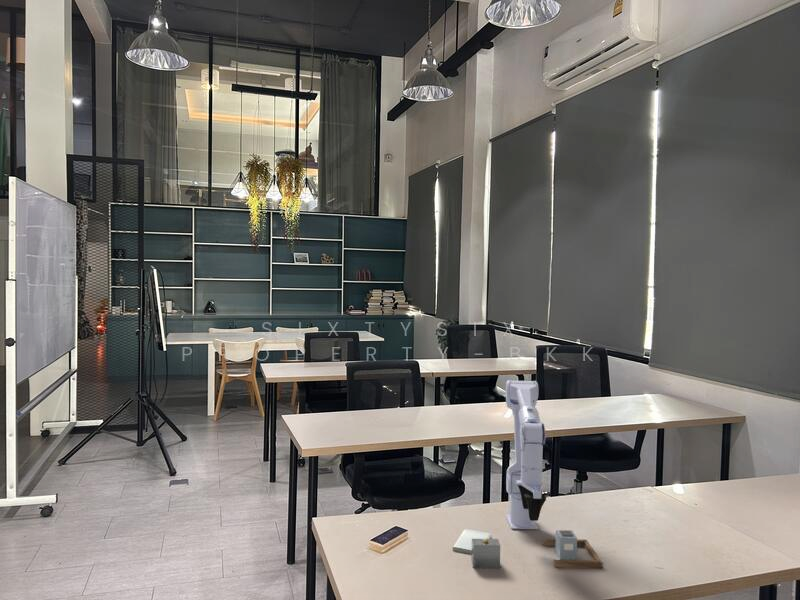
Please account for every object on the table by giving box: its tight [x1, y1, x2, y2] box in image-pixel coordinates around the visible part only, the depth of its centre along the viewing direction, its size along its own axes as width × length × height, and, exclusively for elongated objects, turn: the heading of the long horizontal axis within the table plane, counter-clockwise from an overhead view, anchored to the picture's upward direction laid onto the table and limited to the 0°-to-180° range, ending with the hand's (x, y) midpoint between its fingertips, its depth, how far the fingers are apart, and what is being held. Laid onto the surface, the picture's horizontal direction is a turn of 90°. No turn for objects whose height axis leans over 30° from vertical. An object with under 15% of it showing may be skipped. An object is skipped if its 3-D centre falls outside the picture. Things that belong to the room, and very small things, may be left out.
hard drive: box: [452, 528, 492, 555], centre depth 161 cm, size 2×8×12 cm
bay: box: [541, 538, 604, 569], centre depth 154 cm, size 13×12×2 cm
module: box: [554, 529, 578, 560], centre depth 154 cm, size 5×4×6 cm
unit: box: [470, 538, 501, 569], centre depth 149 cm, size 4×7×7 cm, turn 90°
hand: (530, 514), depth 157 cm, fingers open, 7 cm apart
